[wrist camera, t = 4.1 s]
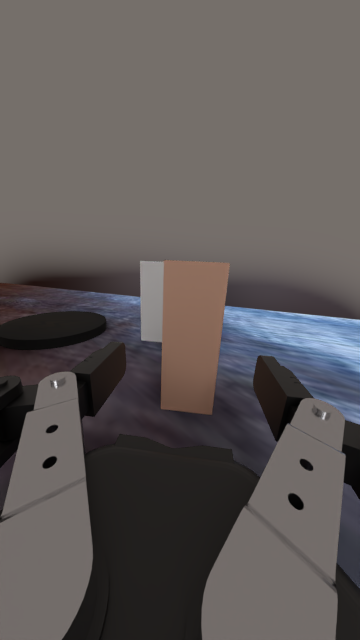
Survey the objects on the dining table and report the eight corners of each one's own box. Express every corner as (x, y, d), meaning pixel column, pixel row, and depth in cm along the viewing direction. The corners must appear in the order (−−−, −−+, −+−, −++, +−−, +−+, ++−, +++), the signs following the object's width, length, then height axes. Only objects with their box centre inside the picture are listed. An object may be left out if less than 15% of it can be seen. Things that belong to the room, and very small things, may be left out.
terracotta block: (160, 408, 18) (163, 260, 14) (169, 379, 23) (173, 261, 19) (211, 415, 18) (229, 263, 14) (209, 383, 23) (222, 263, 19)
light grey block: (141, 340, 34) (140, 260, 30) (148, 331, 39) (148, 261, 35) (168, 342, 34) (170, 262, 30) (172, 333, 38) (174, 262, 35)
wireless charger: (124, 329, 40) (123, 320, 40) (23, 363, 26) (21, 350, 25) (77, 315, 49) (76, 307, 48) (-18, 334, 34) (-21, 323, 34)
